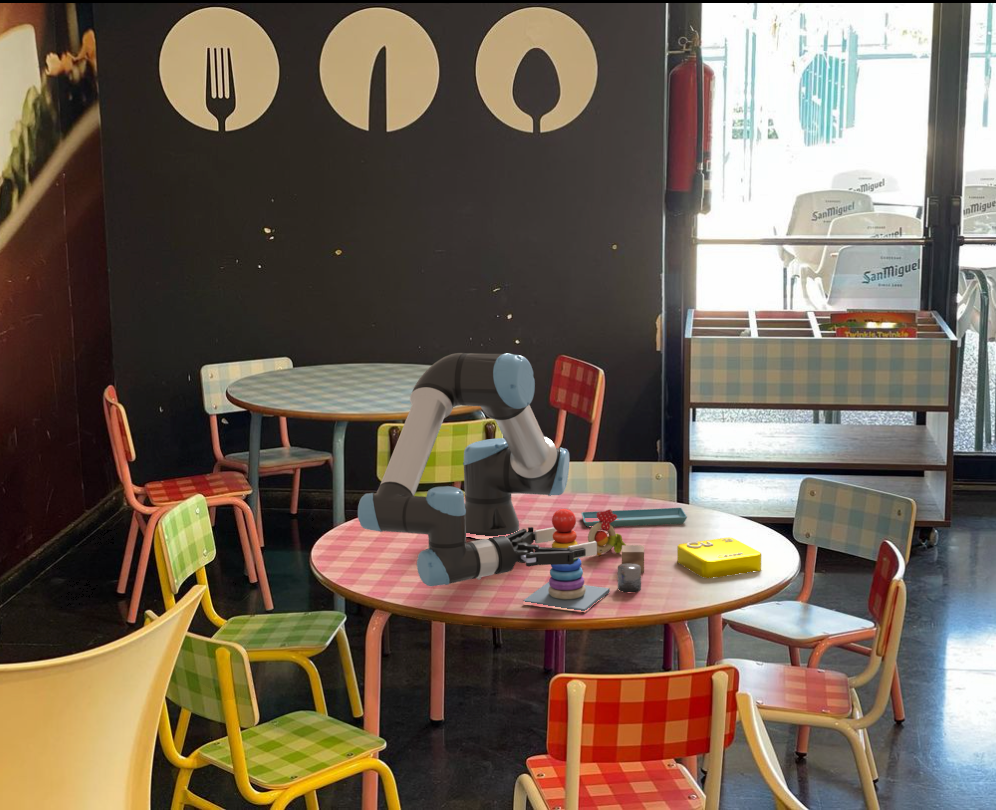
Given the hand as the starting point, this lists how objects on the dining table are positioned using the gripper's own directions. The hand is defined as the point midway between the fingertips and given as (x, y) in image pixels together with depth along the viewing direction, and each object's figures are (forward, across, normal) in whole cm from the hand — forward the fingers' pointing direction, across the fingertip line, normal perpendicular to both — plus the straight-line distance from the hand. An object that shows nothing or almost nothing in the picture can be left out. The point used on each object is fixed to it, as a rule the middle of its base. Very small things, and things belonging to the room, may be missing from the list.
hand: (578, 539), depth 283 cm
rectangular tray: (+42, -41, -13) cm, 60 cm away
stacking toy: (-3, 0, -12) cm, 12 cm away
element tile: (+38, -1, -13) cm, 40 cm away
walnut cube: (+20, -9, -13) cm, 25 cm away
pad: (-3, 0, -12) cm, 13 cm away
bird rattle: (+22, -22, -13) cm, 34 cm away
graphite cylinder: (+12, +2, -13) cm, 17 cm away
